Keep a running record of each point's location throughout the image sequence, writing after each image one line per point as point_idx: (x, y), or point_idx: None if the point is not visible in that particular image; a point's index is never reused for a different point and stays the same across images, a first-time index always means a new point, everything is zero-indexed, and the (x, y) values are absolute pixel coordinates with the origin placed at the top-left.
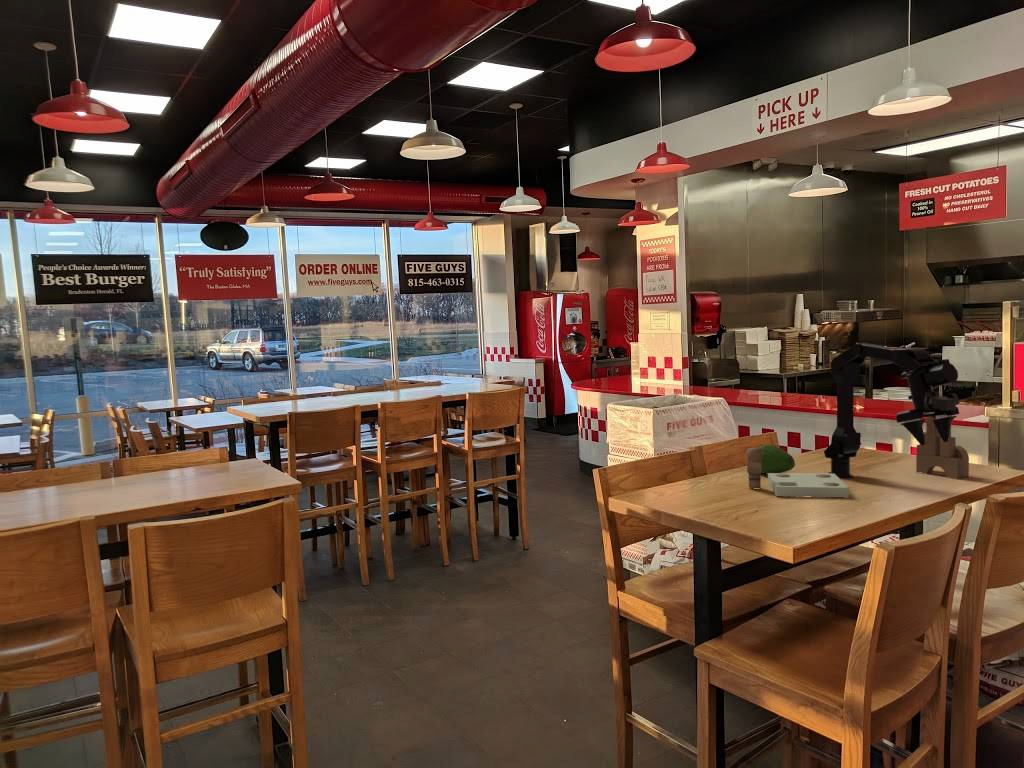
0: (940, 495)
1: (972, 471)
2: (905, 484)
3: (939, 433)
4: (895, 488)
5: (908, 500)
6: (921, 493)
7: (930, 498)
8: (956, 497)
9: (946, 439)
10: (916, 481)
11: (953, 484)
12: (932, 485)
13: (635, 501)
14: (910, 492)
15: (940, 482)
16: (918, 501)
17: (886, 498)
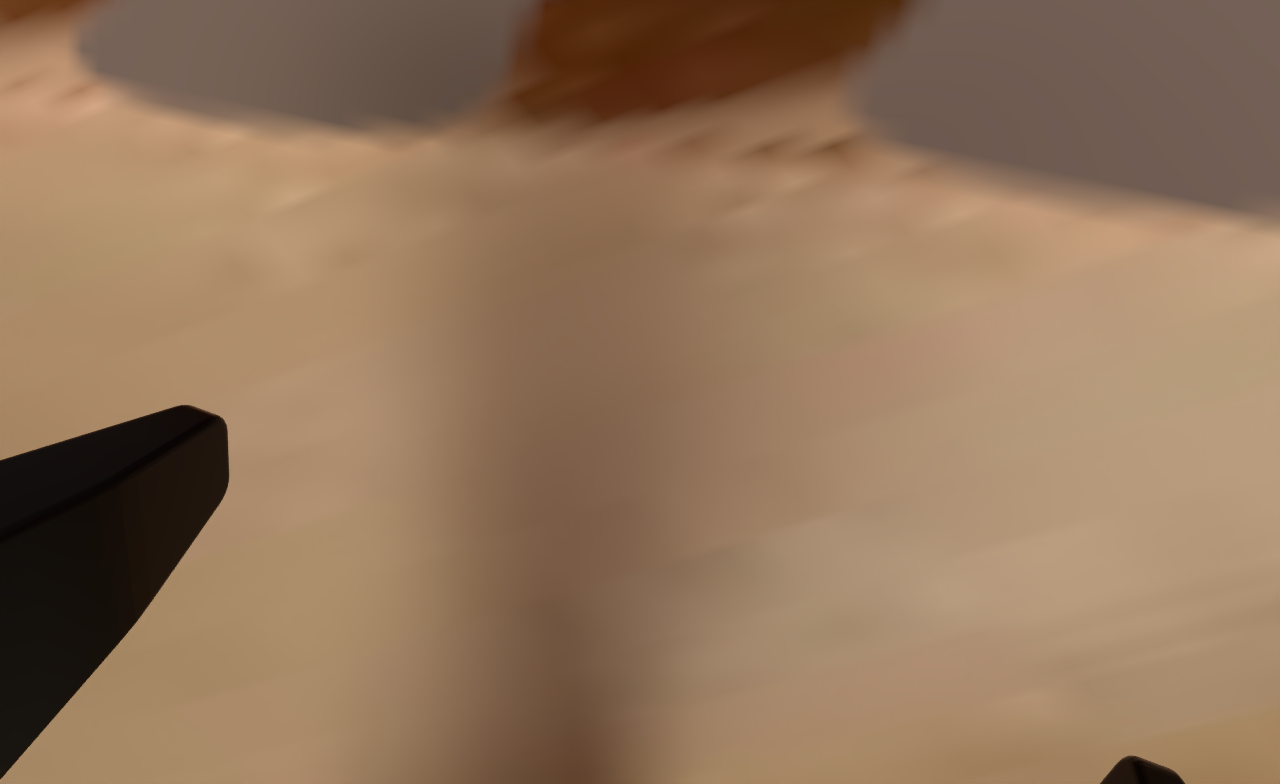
0: (673, 266)
1: None
2: (409, 693)
3: (23, 741)
4: (646, 717)
5: (1166, 448)
6: (707, 453)
7: (900, 296)
8: (659, 92)
9: (188, 451)
10: (218, 651)
11: (93, 345)
12: (274, 486)
13: None
14: (733, 553)
15: None
16: (1152, 346)
17: (1204, 659)
